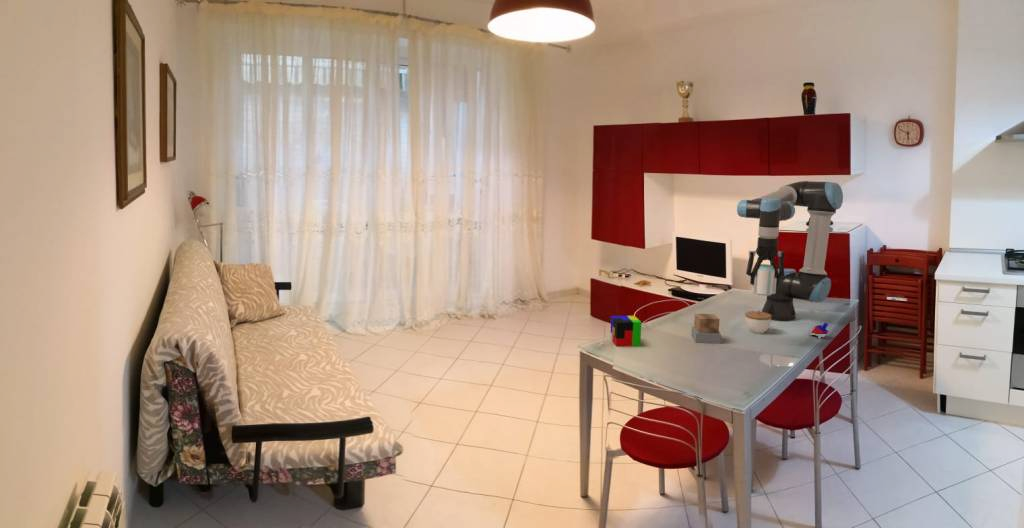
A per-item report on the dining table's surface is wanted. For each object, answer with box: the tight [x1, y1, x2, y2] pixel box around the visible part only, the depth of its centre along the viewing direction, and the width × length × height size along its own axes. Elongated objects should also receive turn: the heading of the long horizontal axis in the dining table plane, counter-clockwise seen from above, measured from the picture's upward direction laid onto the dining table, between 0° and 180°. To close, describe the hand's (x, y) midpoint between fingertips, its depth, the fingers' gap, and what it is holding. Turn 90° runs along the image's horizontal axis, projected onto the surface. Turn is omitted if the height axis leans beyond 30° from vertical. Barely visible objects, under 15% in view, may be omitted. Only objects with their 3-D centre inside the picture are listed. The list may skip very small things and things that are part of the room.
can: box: [755, 263, 775, 297], centre depth 254 cm, size 7×7×12 cm
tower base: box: [690, 326, 722, 344], centre depth 262 cm, size 10×10×4 cm
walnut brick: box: [693, 313, 721, 333], centre depth 261 cm, size 8×8×6 cm
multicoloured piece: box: [810, 322, 829, 335], centre depth 265 cm, size 4×4×8 cm
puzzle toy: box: [609, 315, 642, 347], centre depth 257 cm, size 10×10×10 cm
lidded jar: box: [744, 310, 772, 334], centre depth 273 cm, size 11×11×9 cm
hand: (763, 292), depth 255 cm, fingers closed on can, 7 cm apart
